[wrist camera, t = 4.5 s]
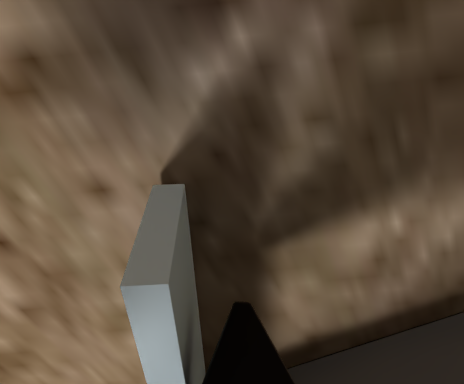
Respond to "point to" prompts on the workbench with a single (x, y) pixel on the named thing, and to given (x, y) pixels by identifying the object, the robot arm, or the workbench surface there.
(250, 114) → the workbench surface
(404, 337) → the camera block
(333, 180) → the workbench surface
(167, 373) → the side door
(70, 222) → the workbench surface
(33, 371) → the workbench surface
